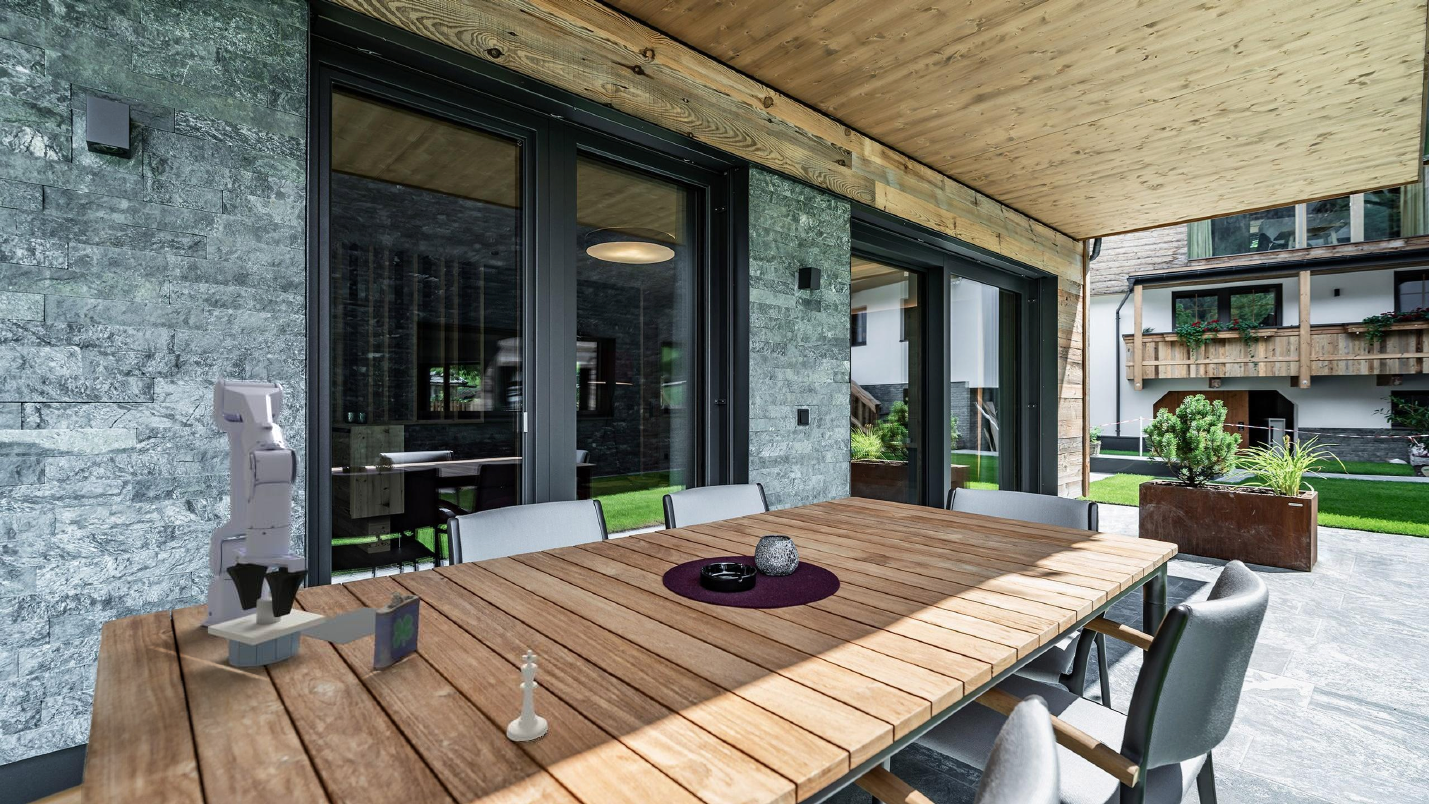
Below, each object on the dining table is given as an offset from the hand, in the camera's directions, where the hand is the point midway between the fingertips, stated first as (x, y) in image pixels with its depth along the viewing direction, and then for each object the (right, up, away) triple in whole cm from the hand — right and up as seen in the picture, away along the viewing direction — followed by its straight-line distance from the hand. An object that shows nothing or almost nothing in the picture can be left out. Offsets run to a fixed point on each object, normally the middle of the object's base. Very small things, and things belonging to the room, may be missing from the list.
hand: (266, 611), depth 97 cm
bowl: (0, -7, 0) cm, 7 cm away
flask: (+20, -8, 0) cm, 22 cm away
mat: (+6, -7, +14) cm, 17 cm away
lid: (0, -3, 0) cm, 3 cm away
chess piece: (+48, -8, -21) cm, 53 cm away
